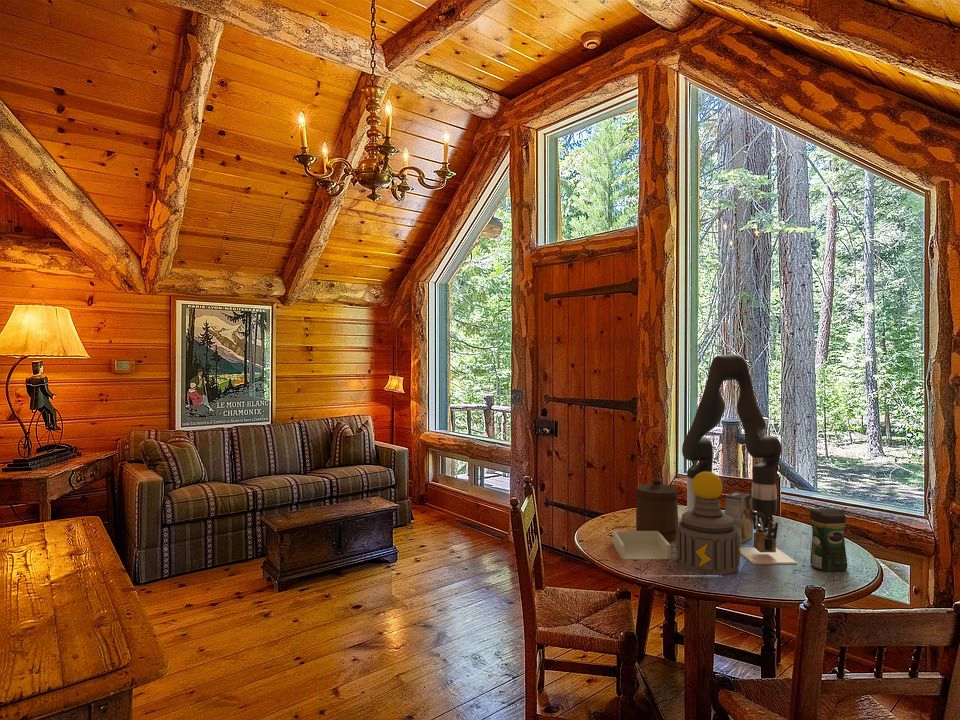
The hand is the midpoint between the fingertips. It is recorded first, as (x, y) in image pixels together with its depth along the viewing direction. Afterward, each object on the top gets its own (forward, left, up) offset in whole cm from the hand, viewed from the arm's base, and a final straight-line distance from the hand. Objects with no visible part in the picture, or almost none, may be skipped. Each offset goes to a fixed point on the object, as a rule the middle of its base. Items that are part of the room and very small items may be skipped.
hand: (764, 547), depth 188 cm
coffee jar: (+10, +15, -3) cm, 18 cm away
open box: (-3, -40, -3) cm, 40 cm away
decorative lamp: (+8, -22, -3) cm, 23 cm away
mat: (0, 0, -3) cm, 3 cm away
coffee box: (-18, -1, -3) cm, 18 cm away
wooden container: (-20, -30, -3) cm, 36 cm away
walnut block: (0, 0, -1) cm, 1 cm away
